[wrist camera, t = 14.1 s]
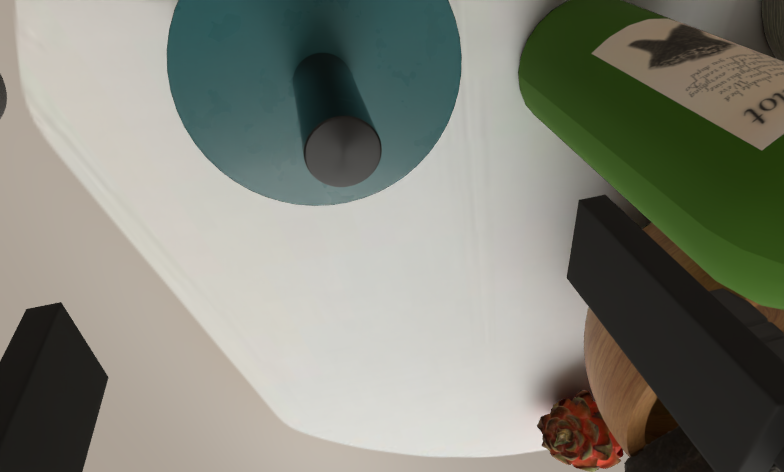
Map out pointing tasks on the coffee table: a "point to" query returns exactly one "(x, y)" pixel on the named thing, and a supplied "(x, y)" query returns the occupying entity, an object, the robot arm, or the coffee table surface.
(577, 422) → the dragon fruit
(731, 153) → the wine bottle
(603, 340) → the bowl
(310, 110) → the lid
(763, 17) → the planter
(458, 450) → the coffee table surface
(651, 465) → the rock sample
